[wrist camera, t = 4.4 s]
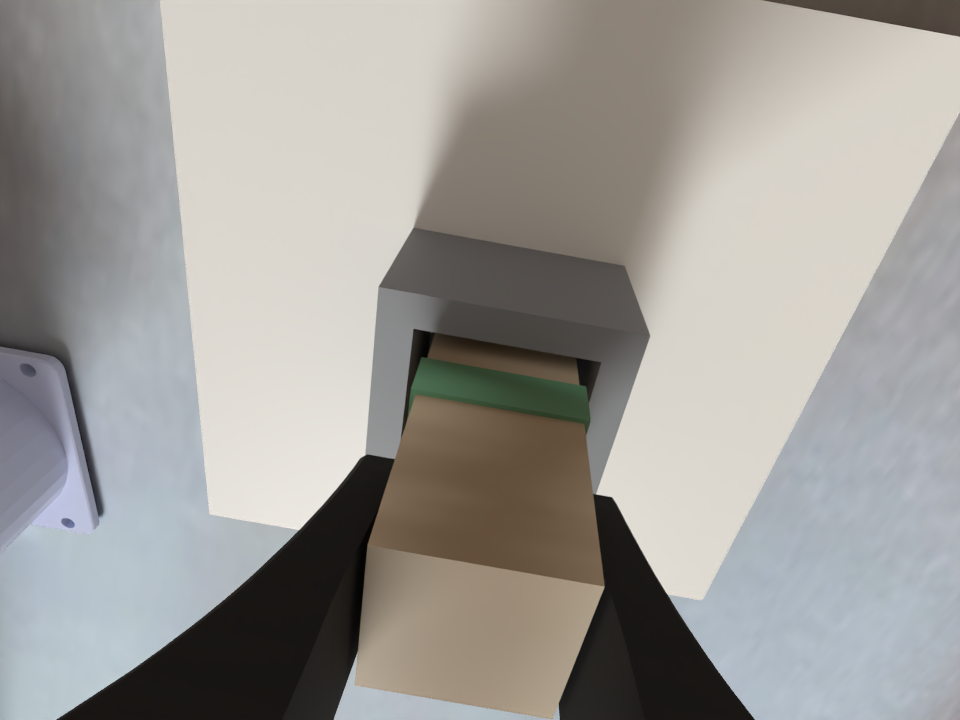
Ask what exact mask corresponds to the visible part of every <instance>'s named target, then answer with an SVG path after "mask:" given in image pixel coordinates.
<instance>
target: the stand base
mask: <svg viewBox="0 0 960 720" xmlns="http://www.w3.org/2000/svg"><path fill="white" fill-rule="evenodd" d="M160 6H161V16H162V27H163V37H164V47H165V58H166V68H167V78H168V89H169V99H170V110H171V120H172V130H173V141H174V151H175V161H176V172H177V182H178V193H179V203H180V213H181V224H182V234H183V244H184V255H185V265H186V276H187V286H188V296H189V307H190V317H191V327H192V338H193V348H194V359H195V369H196V379H197V390H198V400H199V411H200V421H201V431H202V442H203V452H204V462H205V473H206V483H207V494H208V504H209V514H211V515H217V516H222V517H228V518H234V519H239V520H245V521H251V522H257V523H262V524H268V525H274V526H279V527H285V528H291V529H297V530H300V529H301V528H302V527H303V526H304V524H305V523H306V522H307V521H308V520H309V519H310V518H311V517H312V516H313V515H314V514H315V513H316V512H317V511H318V509H319V508H320V507H321V506H322V505H323V504H324V503H325V502H326V501H327V499H328V498H329V497H330V496H331V495H332V494H333V492H334V491H335V490H336V489H337V488H338V487H339V485H340V484H341V483H342V482H343V480H344V479H345V478H346V477H347V475H348V474H349V473H350V471H351V470H352V469H353V468H354V466H355V465H356V463H357V462H358V461H359V459H360V458H361V457H363V456H365V455H366V454H369V455H374V456H380V457H386V458H391V459H395V457H396V454H397V451H398V448H399V445H400V442H401V438H402V435H403V432H404V429H405V426H406V423H407V417H408V409H409V401H410V392H411V387H412V384H413V381H414V378H415V375H416V372H417V369H418V366H419V363H420V360H421V357H424V358H427V357H428V354H429V351H430V347H431V344H432V341H433V338H434V335H435V333H440V334H446V335H451V336H457V337H463V338H468V339H474V340H479V341H485V342H491V343H496V344H502V345H507V346H513V347H519V348H524V349H530V350H535V351H541V352H547V353H552V354H558V355H563V356H569V357H575V358H576V361H577V369H578V377H579V385H581V386H586V389H587V396H588V403H589V410H590V417H591V422H590V425H589V428H588V432H587V435H586V441H587V449H588V457H589V465H590V473H591V481H592V489H593V494H597V495H602V496H608V497H612V498H613V499H614V501H615V502H616V504H617V506H618V507H619V509H620V511H621V513H622V515H623V517H624V519H625V521H626V523H627V525H628V526H629V528H630V530H631V532H632V534H633V536H634V538H635V539H636V541H637V543H638V545H639V547H640V549H641V550H642V552H643V554H644V556H645V558H646V559H647V561H648V563H649V565H650V566H651V568H652V570H653V572H654V573H655V575H656V577H657V578H658V580H659V582H660V583H661V585H662V587H663V588H664V590H665V592H666V593H667V594H668V595H674V596H680V597H685V598H691V599H697V600H703V598H704V596H705V594H706V592H707V590H708V588H709V587H710V585H711V583H712V581H713V579H714V577H715V575H716V573H717V571H718V569H719V568H720V566H721V564H722V562H723V560H724V558H725V556H726V554H727V552H728V550H729V549H730V547H731V545H732V543H733V541H734V539H735V537H736V535H737V533H738V532H739V530H740V528H741V526H742V524H743V522H744V520H745V518H746V516H747V514H748V513H749V511H750V509H751V507H752V505H753V503H754V501H755V499H756V497H757V495H758V494H759V492H760V490H761V488H762V486H763V484H764V482H765V480H766V478H767V477H768V475H769V473H770V471H771V469H772V467H773V465H774V463H775V461H776V459H777V458H778V456H779V454H780V452H781V450H782V448H783V446H784V444H785V442H786V440H787V439H788V437H789V435H790V433H791V431H792V429H793V427H794V425H795V423H796V422H797V420H798V418H799V416H800V414H801V412H802V410H803V408H804V406H805V404H806V403H807V401H808V399H809V397H810V395H811V393H812V391H813V389H814V387H815V385H816V384H817V382H818V380H819V378H820V376H821V374H822V372H823V370H824V368H825V367H826V365H827V363H828V361H829V359H830V357H831V355H832V353H833V351H834V349H835V348H836V346H837V344H838V342H839V340H840V338H841V336H842V334H843V332H844V330H845V329H846V327H847V325H848V323H849V321H850V319H851V317H852V315H853V313H854V312H855V310H856V308H857V306H858V304H859V302H860V300H861V298H862V296H863V294H864V293H865V291H866V289H867V287H868V285H869V283H870V281H871V279H872V277H873V275H874V274H875V272H876V270H877V268H878V266H879V264H880V262H881V260H882V258H883V257H884V255H885V253H886V251H887V249H888V247H889V245H890V243H891V241H892V239H893V238H894V236H895V234H896V232H897V230H898V228H899V226H900V224H901V222H902V220H903V219H904V217H905V215H906V213H907V211H908V209H909V207H910V205H911V203H912V202H913V200H914V198H915V196H916V194H917V192H918V190H919V188H920V186H921V184H922V183H923V181H924V179H925V177H926V175H927V173H928V171H929V169H930V167H931V165H932V164H933V162H934V160H935V158H936V156H937V154H938V152H939V150H940V148H941V147H942V145H943V143H944V141H945V139H946V137H947V135H948V133H949V131H950V129H951V128H952V126H953V124H954V122H955V120H956V118H957V116H958V114H959V112H960V37H958V36H953V35H947V34H942V33H936V32H931V31H926V30H920V29H915V28H909V27H904V26H899V25H893V24H888V23H882V22H877V21H872V20H866V19H861V18H855V17H850V16H845V15H839V14H834V13H828V12H823V11H818V10H812V9H807V8H801V7H796V6H791V5H785V4H780V3H774V2H769V1H764V0H160Z"/></svg>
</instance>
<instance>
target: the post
mask: <svg viewBox="0 0 960 720" xmlns="http://www.w3.org/2000/svg"><path fill="white" fill-rule="evenodd" d="M590 422H591V417H590V410H589V403H588V396H587V389H586V386H581V385H579V377H578V369H577V361H576V358H575V357H569V356H563V355H558V354H552V353H547V352H541V351H535V350H530V349H524V348H519V347H513V346H507V345H502V344H496V343H491V342H485V341H479V340H474V339H468V338H463V337H457V336H451V335H446V334H440V333H435V335H434V338H433V341H432V344H431V347H430V351H429V354H428V357H427V358H424V357H421V360H420V363H419V366H418V369H417V372H416V375H415V378H414V381H413V384H412V387H411V392H410V401H409V409H408V417H407V423H406V426H405V429H404V432H403V435H402V438H401V442H400V445H399V448H398V451H397V454H396V457H395V460H394V464H393V467H392V470H391V473H390V476H389V479H388V482H387V485H386V489H385V492H384V495H383V498H382V501H381V504H380V507H379V511H378V514H377V517H376V520H375V523H374V526H373V529H372V532H371V536H370V539H369V542H368V545H367V556H366V567H365V578H364V589H363V600H362V611H361V622H360V634H359V645H358V656H357V667H356V678H355V685H356V686H362V687H368V688H374V689H379V690H385V691H391V692H397V693H403V694H408V695H414V696H420V697H426V698H432V699H437V700H443V701H449V702H455V703H461V704H466V705H472V706H478V707H484V708H490V709H495V710H501V711H507V712H513V713H519V714H524V715H530V716H536V717H542V718H548V719H553V716H554V714H555V711H556V709H557V706H558V704H559V701H560V699H561V696H562V694H563V691H564V688H565V686H566V683H567V681H568V678H569V676H570V673H571V671H572V668H573V666H574V663H575V661H576V658H577V656H578V653H579V651H580V648H581V645H582V643H583V640H584V638H585V635H586V633H587V630H588V628H589V625H590V623H591V620H592V618H593V615H594V613H595V610H596V607H597V605H598V602H599V600H600V597H601V595H602V592H603V590H604V587H605V585H604V577H603V569H602V561H601V553H600V545H599V537H598V529H597V521H596V513H595V505H594V497H593V489H592V481H591V473H590V465H589V457H588V449H587V441H586V435H587V432H588V428H589V425H590Z"/></svg>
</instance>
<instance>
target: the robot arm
mask: <svg viewBox="0 0 960 720" xmlns="http://www.w3.org/2000/svg"><path fill="white" fill-rule="evenodd" d="M30 365H31V366H32V367H33V368H34V369H35V370H34V369H33V368H32V367H31V366H30ZM394 460H395V459H391V458H386V457H380V456H374V455H369V454H366V455H365V456H363V457H361V458H360V459H359V461H358V462H357V463H356V465H355V466H354V468H353V469H352V470H351V471H350V473H349V474H348V475H347V477H346V478H345V479H344V480H343V482H342V483H341V484H340V485H339V487H338V488H337V489H336V490H335V491H334V492H333V494H332V495H331V496H330V497H329V498H328V499H327V501H326V502H325V503H324V504H323V505H322V506H321V507H320V508H319V509H318V511H317V512H316V513H315V514H314V515H313V516H312V517H311V518H310V519H309V520H308V521H307V522H306V523H305V524H304V526H303V527H302V528H301V529H300V530H299V531H298V532H297V533H296V534H295V535H294V536H293V537H292V538H291V539H290V540H289V541H288V542H287V543H286V544H285V545H284V546H283V547H282V548H281V549H280V550H279V551H278V552H277V553H276V554H275V555H273V556H272V557H271V558H270V559H269V560H268V561H267V562H266V563H265V564H264V565H263V566H262V567H261V568H260V569H259V570H258V571H257V572H256V573H255V574H253V575H252V576H251V577H250V578H249V579H248V580H247V581H246V582H244V583H243V584H242V585H241V586H240V587H239V588H238V589H237V590H235V591H234V592H233V593H232V594H231V595H229V596H228V597H227V598H226V599H225V600H224V601H222V602H221V603H220V604H219V605H217V606H216V607H215V608H214V609H213V610H211V611H210V612H209V613H208V614H206V615H205V616H204V617H203V618H201V619H200V620H199V621H198V622H196V623H195V624H194V625H192V626H191V627H190V628H188V629H187V630H186V631H185V632H183V633H182V634H181V635H179V636H178V637H177V638H175V639H174V640H173V641H171V642H170V643H169V644H167V645H166V646H165V647H163V648H162V649H161V650H159V651H158V652H157V653H155V654H154V655H152V656H151V657H150V658H148V659H147V660H145V661H144V662H143V663H141V664H140V665H138V666H137V667H136V668H134V669H133V670H131V671H130V672H128V673H127V674H125V675H124V676H122V677H121V678H119V679H118V680H116V681H115V682H113V683H112V684H110V685H109V686H107V687H106V688H104V689H103V690H101V691H100V692H98V693H96V694H95V695H93V696H92V697H90V698H89V699H87V700H86V701H84V702H83V703H81V704H80V705H78V706H77V707H75V708H74V709H72V710H71V711H69V712H68V713H66V714H64V715H63V716H61V717H60V718H58V719H57V720H333V719H334V716H335V714H336V711H337V708H338V705H339V702H340V699H341V697H342V694H343V691H344V688H345V685H346V683H347V680H348V677H349V674H350V671H351V669H352V666H353V663H354V660H355V657H356V654H357V652H358V645H359V634H360V622H361V611H362V600H363V589H364V578H365V567H366V556H367V545H368V542H369V539H370V536H371V532H372V529H373V526H374V523H375V520H376V517H377V514H378V511H379V507H380V504H381V501H382V498H383V495H384V492H385V489H386V485H387V482H388V479H389V476H390V473H391V470H392V467H393V464H394ZM593 497H594V505H595V513H596V521H597V529H598V537H599V545H600V553H601V561H602V569H603V577H604V585H605V587H604V590H603V592H602V595H601V597H600V600H599V602H598V605H597V607H596V610H595V613H594V615H593V618H592V620H591V623H590V625H589V628H588V630H587V633H586V635H585V638H584V640H583V643H582V645H581V648H580V651H579V653H578V656H577V658H576V661H575V663H574V666H573V668H572V671H571V673H570V676H569V678H568V681H567V683H566V686H565V688H564V691H563V694H562V696H561V699H560V701H559V714H560V720H755V719H754V718H753V717H752V715H751V714H750V713H749V712H748V710H747V709H746V708H745V706H744V705H743V704H742V703H741V701H740V700H739V699H738V697H737V696H736V695H735V694H734V692H733V691H732V690H731V688H730V687H729V686H728V684H727V683H726V682H725V680H724V679H723V677H722V676H721V675H720V673H719V672H718V671H717V669H716V668H715V666H714V665H713V663H712V662H711V661H710V659H709V658H708V656H707V655H706V654H705V652H704V651H703V649H702V648H701V646H700V645H699V643H698V642H697V640H696V639H695V637H694V636H693V634H692V633H691V631H690V630H689V628H688V627H687V625H686V624H685V622H684V621H683V619H682V617H681V616H680V614H679V613H678V611H677V610H676V608H675V606H674V605H673V603H672V601H671V600H670V598H669V596H668V595H667V593H666V592H665V590H664V588H663V587H662V585H661V583H660V582H659V580H658V578H657V577H656V575H655V573H654V572H653V570H652V568H651V566H650V565H649V563H648V561H647V559H646V558H645V556H644V554H643V552H642V550H641V549H640V547H639V545H638V543H637V541H636V539H635V538H634V536H633V534H632V532H631V530H630V528H629V526H628V525H627V523H626V521H625V519H624V517H623V515H622V513H621V511H620V509H619V507H618V506H617V504H616V502H615V501H614V499H613V498H612V497H608V496H602V495H597V494H593ZM30 524H31V525H37V526H43V527H48V528H54V529H60V530H66V531H71V532H77V533H83V534H89V533H92V532H93V531H94V530H95V529H96V527H97V526H98V525H99V517H98V513H97V508H96V504H95V499H94V495H93V491H92V486H91V482H90V477H89V473H88V468H87V464H86V460H85V455H84V451H83V446H82V442H81V437H80V433H79V429H78V424H77V420H76V415H75V411H74V406H73V402H72V398H71V393H70V389H69V384H68V380H67V375H66V371H65V368H64V366H63V364H62V363H61V362H60V361H59V360H58V359H56V358H55V357H52V356H49V355H45V354H40V353H34V352H28V351H23V350H17V349H11V348H6V347H0V554H1V553H2V552H3V551H4V550H5V549H6V548H7V547H8V546H9V545H10V544H11V543H12V542H13V541H14V540H15V539H16V538H17V537H18V536H19V535H20V534H21V533H22V532H23V531H24V530H25V529H26V528H27V527H28V526H29V525H30Z"/></svg>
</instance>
